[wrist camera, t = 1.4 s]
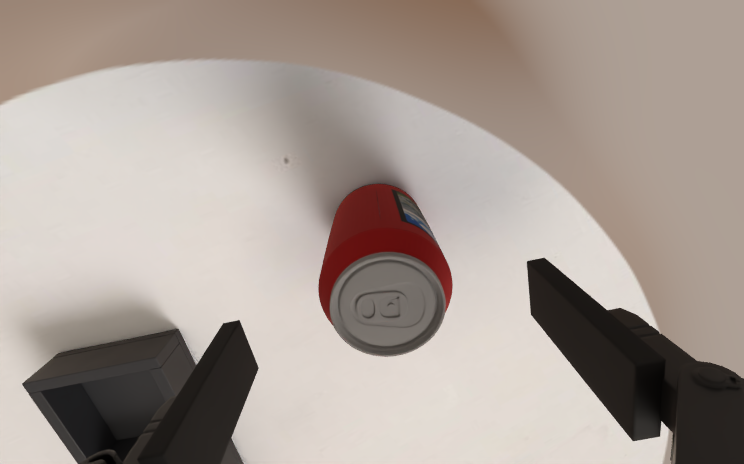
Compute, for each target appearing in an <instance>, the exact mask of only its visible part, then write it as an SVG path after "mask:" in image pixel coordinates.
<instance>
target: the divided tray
mask: <svg viewBox="0 0 744 464" xmlns="http://www.w3.org/2000/svg"><path fill="white" fill-rule="evenodd" d="M195 367H196V365H195V363H194V361H193V358H192V356H191V354H190V352H189V350H188V348H187V346H186V344H185V342H184V340H183V338H182V336H181V333H180V331H179V329H177V330H172V331H167V332H162V333H157V334H152V335H147V336H142V337H137V338H132V339H127V340H122V341H117V342H113V343H108V344H103V345H98V346H93V347H88V348H83V349H78V350H73V351H68V352H63V353H58V354H57V355H56V356H55V357H54V358H53V359H51V360H50V361H49V362H48V363H47V364H45V365H44V366H43V367H42V368H41V369H39V370H38V371H37V372H36V373H35V374H33V375H32V376H31V377H30V378H28V379H27V380H26V381H25V382H24V383H22V385H23V386H24V388H25V389H26V391H27V392H28V393H29V395H30V397H31V398H32V399H33V401H34V402H35V404H36V405H37V406H38V408H39V409H40V411H41V412H42V414H43V415H44V416H45V418H46V419H47V421H48V422H49V423H50V425H51V426H52V428H53V429H54V431H55V432H56V433H57V435H58V436H59V438H60V439H61V440H62V442H63V443H64V445H65V446H66V448H67V449H68V450H69V452H70V453H71V455H72V456H73V457H74V459H75V460H76V462H77V463H78V464H80V463H81V462H83V461H84V460H85V459H87V458H88V457H90V456H92V455H94V454H96V453H97V452H100V451H103V450H107V449H110V450H115V452H116V453H117V454H118V456H119V458H120V459H121V461H122V462H123V461H124V459H125V458H126V456H127V455H128V453H129V452H130V450H131V449H132V447H133V446H134V444H135V443H136V441H137V440H138V438H139V437H140V435H141V434H143V431H144V429H145V428H146V426H147V425H148V424H150V420H151V419H152V417H153V416H154V414H155V413H156V412H157V410H158V409H159V408H160V407H161V406H162V405H163V404H164V403H165V402H166V401H167V400H168V399H169V398H170V397H173V396H177V395H178V394H179V392H180V391H181V389H182V387H183V386H184V384H185V383H186V381H187V380H188V378H189V376H190V375H191V373H192V372H193V370H194V369H195ZM221 464H243V462H242V460H241V458H240V456H239V454H238V452H237V450H236V448H235V446H234V444H233V442H232V440H231V439H230V442H229V444H228V447H227V449H226V452H225V454H224V457H223V459H222V462H221Z"/></svg>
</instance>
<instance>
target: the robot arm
mask: <svg viewBox="0 0 744 464" xmlns="http://www.w3.org/2000/svg"><path fill="white" fill-rule="evenodd" d="M527 269H528V282H529V295H530V308H531V315H532V316H533V318H534V319H535V320H536V321H537V322H538V324H539V325H540V326H541V327H542V329H543V330H544V331H545V332H546V334H547V335H548V336H549V337H550V339H551V340H552V341H553V342H554V344H555V345H556V346H557V347H558V349H559V350H560V351H561V352H562V354H563V355H564V356H565V357H566V359H567V360H568V361H569V362H570V364H571V365H572V366H573V367H574V368H575V370H576V371H577V372H578V373H579V375H580V376H581V377H582V378H583V380H584V381H585V382H586V383H587V385H588V386H589V387H590V388H591V390H592V391H593V392H594V393H595V395H596V396H597V397H598V398H599V400H600V401H601V402H602V403H603V405H604V406H605V407H606V408H607V409H608V411H609V412H610V413H611V414H612V416H613V417H614V418H615V419H616V421H617V422H618V423H619V424H620V426H621V427H622V428H623V429H624V431H625V432H626V433H627V434H628V436H629V437H630V438H631V439H632V441H637V440H643V439H648V438H654V437H660V430H661V421H662V422H663V423H664V424H665V425H666V426H667V427H668V428H669V429H670V430H671V431H672V432H673V438H672V449H671V464H744V379H743V378H741V377H740V376H738V375H737V374H736V373H735V372H733V371H731V370H729V369H727V368H725V367H723V366H719V365H716V364H712V363H708V362H700V361H696V360H695V359H694V358H692V357H691V356H690V355H688V354H687V353H686V352H685V351H683V350H682V349H681V348H679V347H678V346H677V345H675V344H674V343H673V342H671V341H670V340H669V339H668V338H666V337H665V336H664V335H662V334H659V332H658V331H657V330H656V329H655V328H653V327H652V326H649V324H648V323H647V322H645V321H644V320H643V319H641V318H640V317H639V316H638V315H636V314H633V313H631V312H629V311H626V310H624V309H622V308H618V309H613V310H606V309H605V308H604V307H602V306H601V305H600V304H599V303H598V302H597V301H595V300H594V299H593V298H592V297H591V296H589V295H588V294H587V293H586V292H585V291H583V290H582V289H581V288H580V287H579V286H577V285H576V284H575V283H574V282H573V281H572V280H570V279H569V278H568V277H567V276H566V275H564V274H563V273H562V272H561V271H560V270H558V269H557V268H556V267H555V266H554V265H552V264H551V263H550V262H549V261H548V260H546V259H545V258H541V259H536V260H531V261H527ZM257 371H258V365H257V363H256V360H255V358H254V355H253V353H252V350H251V348H250V345H249V343H248V340H247V338H246V335H245V333H244V330H243V328H242V325H241V323H240V320H238V321H233V322H228V323H223V325H222V326H221V328H220V329H219V331H218V333H217V334H216V336H215V337H214V339H213V340H212V342H211V344H210V345H209V347H208V348H207V350H206V351H205V353H204V355H203V356H202V358H201V359H200V361H199V362H198V364H197V365H196V367H195V369H194V370H193V372H192V373H191V375H190V376H189V378H188V380H187V381H186V383H185V384H184V386H183V387H182V389H181V391H180V392H179V394H178V395H177V396H173V397H170V398H169V399H168V400H167V401H166V402H165V403H164V404H163V405H162V406H161V407H160V408H159V409H158V410H157V412H156V413H155V414H154V416H153V417H152V419H151V420H150V424H148V425H147V426H146V428H145V429H144V431H143V434H141V435H140V437H139V438H138V440H137V441H136V443H135V444H134V446H133V447H132V449H131V450H130V452H129V453H128V455H127V456H126V458H125V459H124V461H123V462H122V461H121V459H120V458H119V456H118V454H117V453H116V452H115V450H110V449H107V450H103V451H100V452H97V453H96V454H94V455H92V456H90V457H88V458H87V459H85V460H84V461H83V462H81V463H80V464H221V462H222V459H223V457H224V454H225V452H226V449H227V447H228V444H229V442H230V439H231V437H232V434H233V432H234V429H235V427H236V424H237V422H238V419H239V416H240V414H241V411H242V409H243V406H244V404H245V401H246V399H247V396H248V394H249V391H250V389H251V386H252V384H253V381H254V379H255V376H256V374H257Z"/></svg>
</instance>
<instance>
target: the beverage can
mask: <svg viewBox="0 0 744 464" xmlns="http://www.w3.org/2000/svg"><path fill="white" fill-rule="evenodd" d="M451 295H452V276H451V272H450V268H449V266H448V263H447V261H446V259H445V257H444V255H443V253H442V251H441V249H440V247H439V245H438V243H437V241H436V239H435V237H434V235H433V233H432V231H431V229H430V227H429V226H428V224H427V222H426V220H425V218H424V216H423V215H422V213H421V211H420V209H419V208H418V206H417V204H416V203H415V201H414V200H413V199H412V198H411V197H410V196H409V195H408V194H407V193H406V192H404V191H403V190H401V189H399V188H397V187H394V186H391V185H386V184H372V185H367V186H363V187H361V188H359V189H357V190H355V191H353V192H352V193H350V194H349V195H348V196H347V197H346V198H345V199H344V200H343V201H342V203H341V204H340V206H339V207H338V209H337V212H336V214H335V218H334V221H333V225H332V228H331V232H330V236H329V240H328V244H327V248H326V252H325V256H324V260H323V265H322V269H321V274H320V279H319V298H320V302H321V306H322V308H323V311H324V313H325V315H326V316H327V318H328V320H329V321H330V322H331V324H332V325H333V326H334V328H335V330H336V331H337V333H338V334H339V335H340V337H341V338H342V339H343V340H344V341H345V342H346V343H347V344H349V345H350V346H352V347H353V348H355V349H357V350H359V351H361V352H364V353H366V354H370V355H375V356H385V357H386V356H397V355H402V354H406V353H409V352H411V351H414V350H416V349H418V348H419V347H421V346H423V345H424V344H425V343H427V342H428V341H429V340H430V339H431V338H432V337H433V336H434V335H435V333H436V332H437V331H438V329H439V327H440V326H441V324H442V321H443V318H444V315H445V312H446V310H447V308H448V306H449V303H450V299H451Z"/></svg>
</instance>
